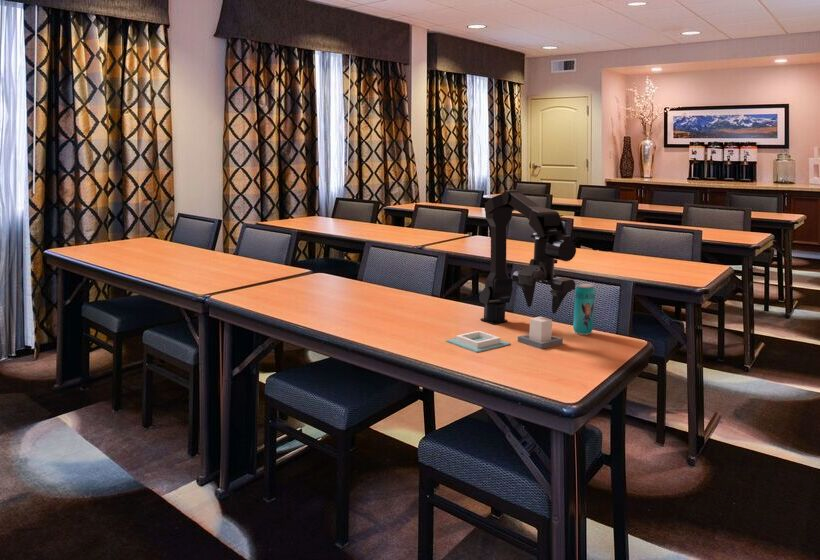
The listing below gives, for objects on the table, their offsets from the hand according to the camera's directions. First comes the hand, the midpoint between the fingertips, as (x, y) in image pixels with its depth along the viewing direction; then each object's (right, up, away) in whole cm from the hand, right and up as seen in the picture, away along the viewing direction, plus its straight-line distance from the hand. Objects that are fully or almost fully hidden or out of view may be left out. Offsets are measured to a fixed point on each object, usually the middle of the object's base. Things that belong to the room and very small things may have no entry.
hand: (541, 309), depth 178 cm
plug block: (0, -10, +2) cm, 10 cm away
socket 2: (0, -9, +2) cm, 10 cm away
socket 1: (-18, -10, +1) cm, 20 cm away
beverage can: (+15, -8, +12) cm, 20 cm away
